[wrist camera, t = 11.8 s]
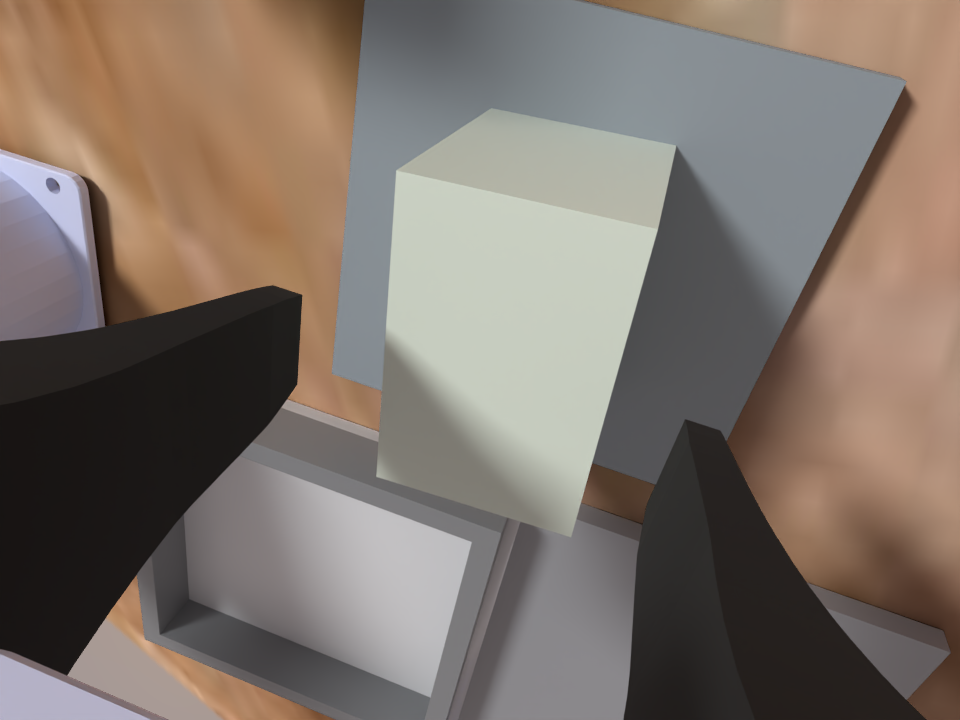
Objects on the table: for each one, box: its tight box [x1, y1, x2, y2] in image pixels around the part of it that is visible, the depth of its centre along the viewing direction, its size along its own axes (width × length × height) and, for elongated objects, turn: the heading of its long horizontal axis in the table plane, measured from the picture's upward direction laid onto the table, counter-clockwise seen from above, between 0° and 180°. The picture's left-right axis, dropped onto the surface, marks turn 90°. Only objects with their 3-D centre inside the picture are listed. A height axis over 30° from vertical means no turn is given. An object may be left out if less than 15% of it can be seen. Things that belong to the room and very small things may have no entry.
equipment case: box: [137, 400, 951, 720], centre depth 26 cm, size 27×14×2 cm, turn 78°
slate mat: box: [332, 0, 907, 485], centre depth 18 cm, size 12×12×1 cm
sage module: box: [376, 108, 676, 537], centre depth 16 cm, size 4×7×6 cm, turn 172°
